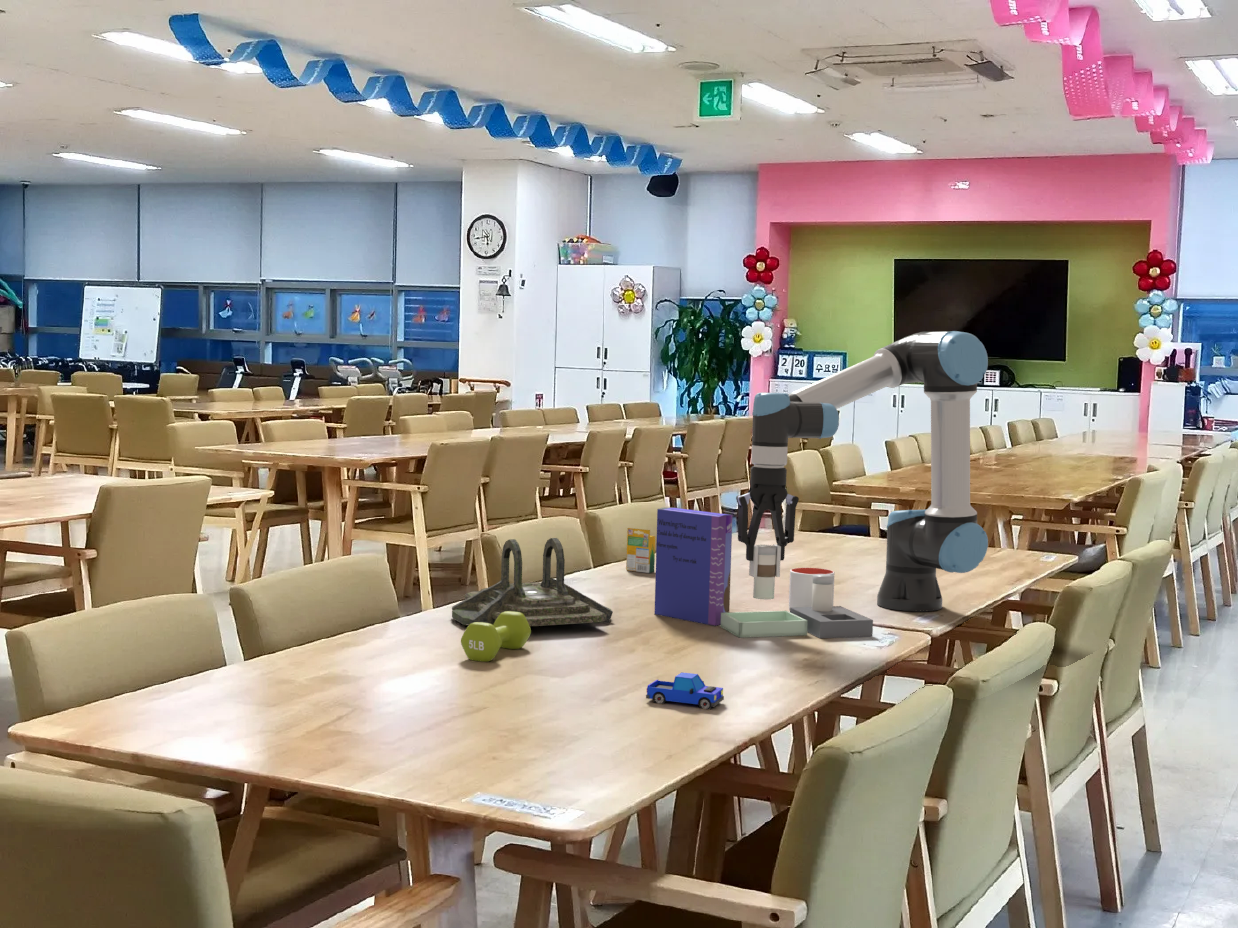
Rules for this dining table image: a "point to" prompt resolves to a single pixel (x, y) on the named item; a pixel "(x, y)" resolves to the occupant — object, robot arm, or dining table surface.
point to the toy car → (685, 691)
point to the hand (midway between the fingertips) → (764, 575)
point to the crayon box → (640, 551)
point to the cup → (804, 586)
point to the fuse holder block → (831, 614)
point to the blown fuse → (765, 573)
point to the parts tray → (763, 624)
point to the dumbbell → (495, 636)
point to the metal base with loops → (531, 595)
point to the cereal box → (693, 565)
